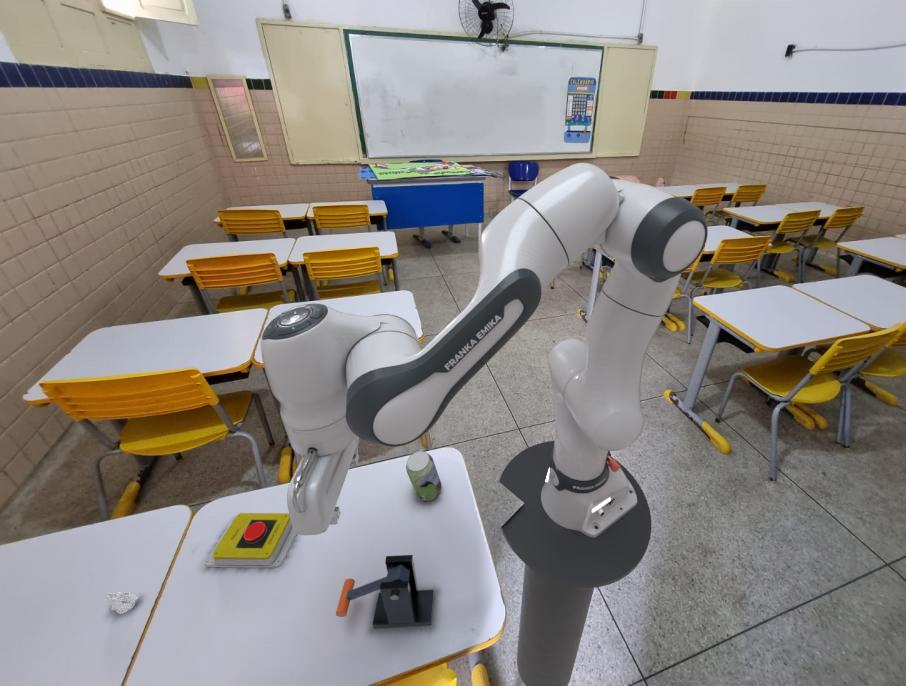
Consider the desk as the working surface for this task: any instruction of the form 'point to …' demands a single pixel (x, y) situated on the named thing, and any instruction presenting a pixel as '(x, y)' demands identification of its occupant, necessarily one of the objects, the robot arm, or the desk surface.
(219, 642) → the desk surface
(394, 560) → the switch bracket
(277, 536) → the emergency button
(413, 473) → the beverage can
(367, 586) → the switch lever
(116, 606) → the white crumpled lump
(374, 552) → the desk surface
